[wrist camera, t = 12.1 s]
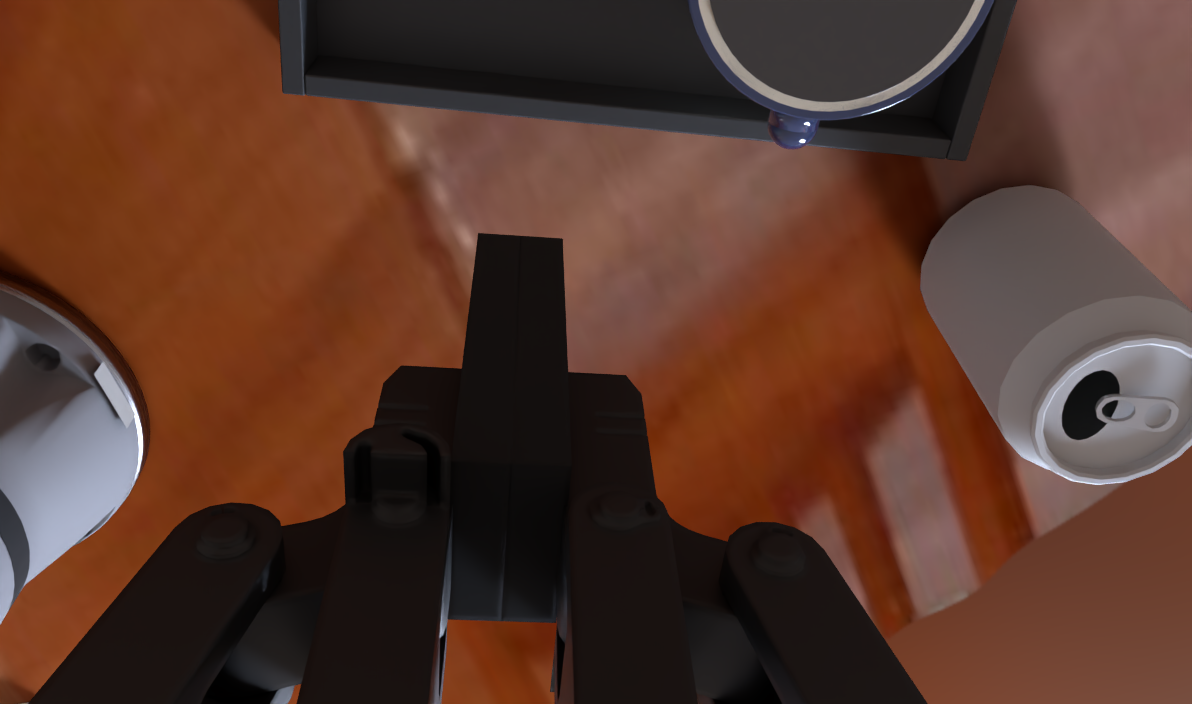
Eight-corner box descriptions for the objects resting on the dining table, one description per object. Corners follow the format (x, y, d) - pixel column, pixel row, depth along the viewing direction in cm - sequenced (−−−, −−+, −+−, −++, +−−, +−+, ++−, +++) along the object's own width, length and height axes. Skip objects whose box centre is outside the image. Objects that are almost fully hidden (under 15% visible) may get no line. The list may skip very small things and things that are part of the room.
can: (933, 174, 43) (1048, 319, 32) (1110, 178, 43) (1279, 323, 33) (899, 329, 47) (992, 502, 36) (1061, 332, 47) (1198, 504, 37)
